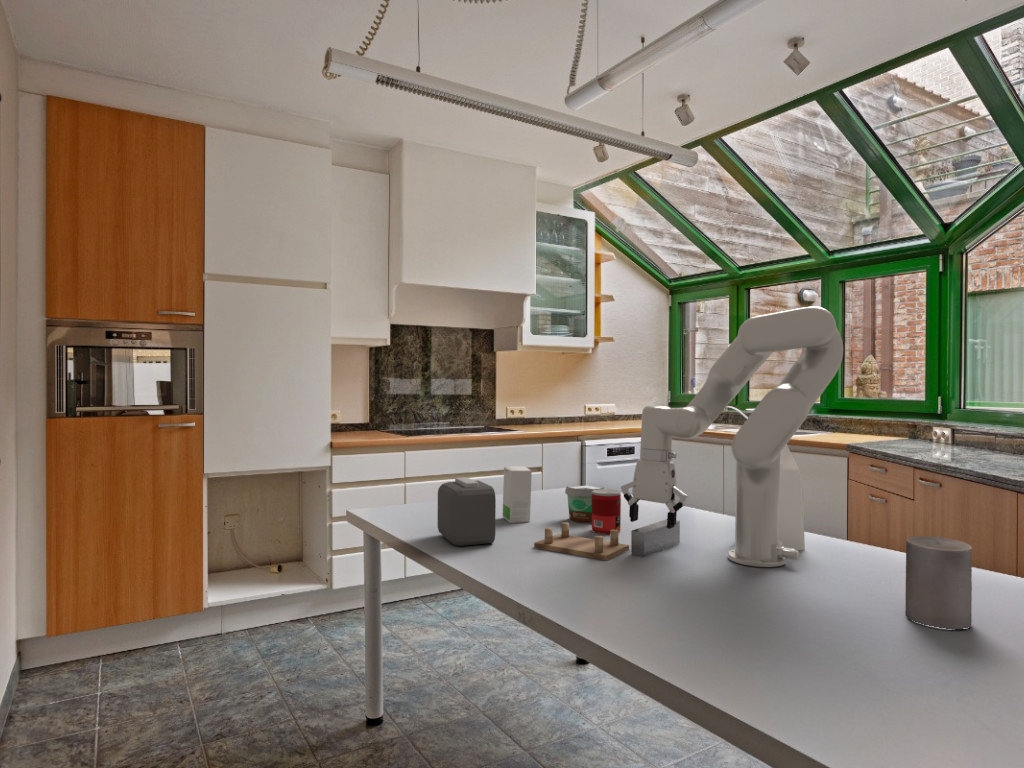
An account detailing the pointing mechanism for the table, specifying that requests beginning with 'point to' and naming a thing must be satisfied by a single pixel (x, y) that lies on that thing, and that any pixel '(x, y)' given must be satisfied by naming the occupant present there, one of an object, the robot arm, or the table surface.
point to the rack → (582, 544)
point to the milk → (790, 503)
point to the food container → (580, 504)
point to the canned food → (606, 510)
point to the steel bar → (654, 538)
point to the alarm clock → (466, 512)
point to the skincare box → (517, 494)
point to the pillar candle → (938, 582)
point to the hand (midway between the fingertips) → (652, 524)
